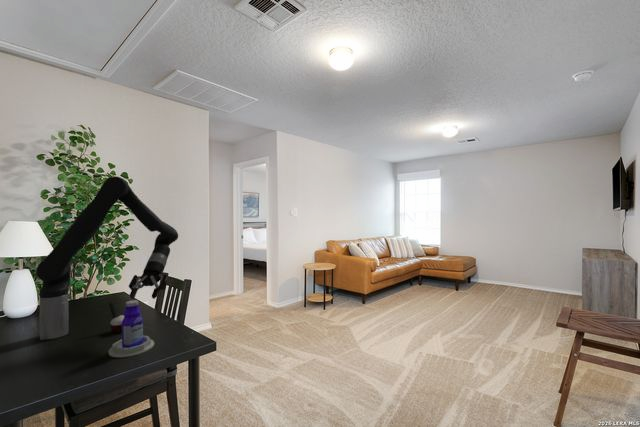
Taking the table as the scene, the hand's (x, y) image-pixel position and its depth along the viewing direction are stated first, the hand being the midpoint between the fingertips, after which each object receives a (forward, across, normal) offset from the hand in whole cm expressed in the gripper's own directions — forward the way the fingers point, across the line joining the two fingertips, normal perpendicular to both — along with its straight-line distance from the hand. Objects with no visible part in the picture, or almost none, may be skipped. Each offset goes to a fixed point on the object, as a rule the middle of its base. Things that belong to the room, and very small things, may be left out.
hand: (142, 297), depth 125 cm
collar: (+18, 0, +6) cm, 19 cm away
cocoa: (+5, -15, +20) cm, 25 cm away
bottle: (+17, 0, +6) cm, 18 cm away
